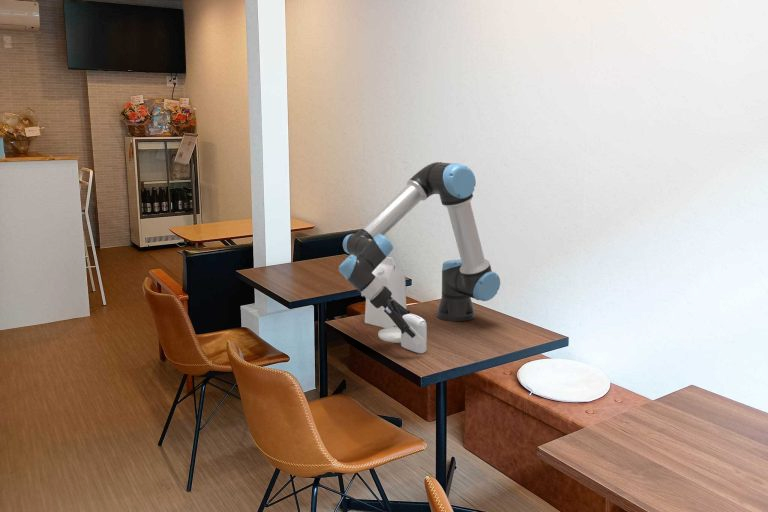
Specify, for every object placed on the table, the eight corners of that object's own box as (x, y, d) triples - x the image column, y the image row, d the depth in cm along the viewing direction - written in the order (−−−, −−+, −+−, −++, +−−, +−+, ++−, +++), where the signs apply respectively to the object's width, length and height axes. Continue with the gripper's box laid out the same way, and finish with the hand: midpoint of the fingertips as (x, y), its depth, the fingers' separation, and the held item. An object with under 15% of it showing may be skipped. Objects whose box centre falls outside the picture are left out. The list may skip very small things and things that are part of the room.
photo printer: (398, 346, 228) (399, 312, 226) (408, 344, 231) (408, 310, 228) (418, 355, 220) (419, 319, 218) (428, 352, 223) (428, 317, 221)
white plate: (418, 330, 247) (418, 327, 247) (420, 343, 232) (420, 340, 232) (378, 329, 247) (378, 326, 247) (377, 342, 232) (377, 339, 232)
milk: (407, 321, 257) (407, 256, 252) (388, 328, 248) (389, 261, 243) (383, 316, 264) (383, 252, 259) (364, 322, 256) (364, 257, 250)
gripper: (370, 291, 235) (411, 331, 238) (367, 310, 210) (413, 355, 213) (385, 277, 234) (426, 317, 236) (383, 295, 209) (429, 340, 212)
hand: (420, 336), depth 225 cm, fingers open, 13 cm apart
